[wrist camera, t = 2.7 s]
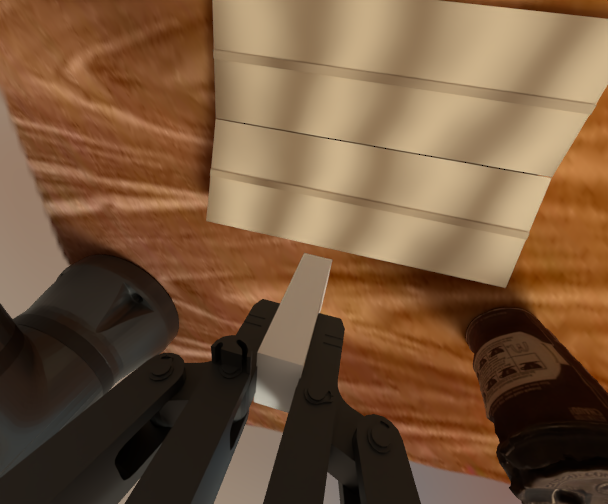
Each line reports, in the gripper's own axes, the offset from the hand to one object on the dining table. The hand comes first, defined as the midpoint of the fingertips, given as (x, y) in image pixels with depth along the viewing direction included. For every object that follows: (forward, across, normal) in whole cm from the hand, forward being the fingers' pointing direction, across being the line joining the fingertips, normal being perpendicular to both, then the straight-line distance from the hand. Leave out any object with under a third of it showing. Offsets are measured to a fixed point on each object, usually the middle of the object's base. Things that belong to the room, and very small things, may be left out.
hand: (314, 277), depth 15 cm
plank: (+9, +2, +2) cm, 10 cm away
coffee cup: (+11, +18, -9) cm, 22 cm away
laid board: (+11, +2, +10) cm, 14 cm away
